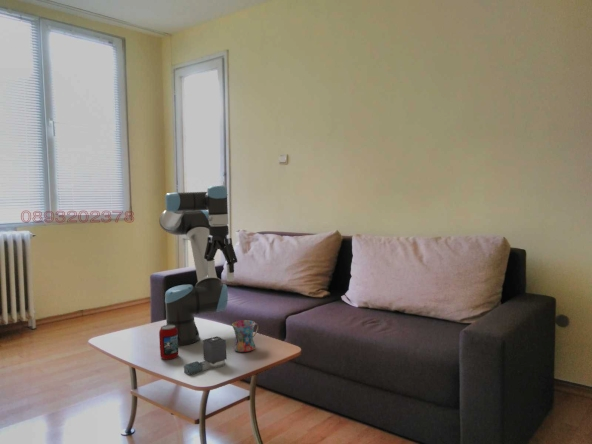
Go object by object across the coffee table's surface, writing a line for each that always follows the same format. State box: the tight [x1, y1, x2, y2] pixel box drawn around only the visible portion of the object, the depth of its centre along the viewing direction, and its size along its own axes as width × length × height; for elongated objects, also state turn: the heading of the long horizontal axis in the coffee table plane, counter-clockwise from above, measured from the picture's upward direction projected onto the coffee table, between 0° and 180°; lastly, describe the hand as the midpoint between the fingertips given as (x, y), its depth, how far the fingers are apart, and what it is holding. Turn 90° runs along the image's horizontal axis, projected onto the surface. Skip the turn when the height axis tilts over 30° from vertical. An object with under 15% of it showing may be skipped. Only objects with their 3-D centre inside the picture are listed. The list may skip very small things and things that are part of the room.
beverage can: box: [158, 324, 179, 360], centre depth 173 cm, size 7×7×12 cm
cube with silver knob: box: [202, 336, 228, 364], centre depth 163 cm, size 6×6×8 cm
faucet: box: [183, 360, 226, 376], centre depth 161 cm, size 7×15×7 cm, turn 132°
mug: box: [231, 319, 260, 353], centre depth 179 cm, size 12×9×11 cm
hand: (221, 278), depth 177 cm, fingers open, 13 cm apart
